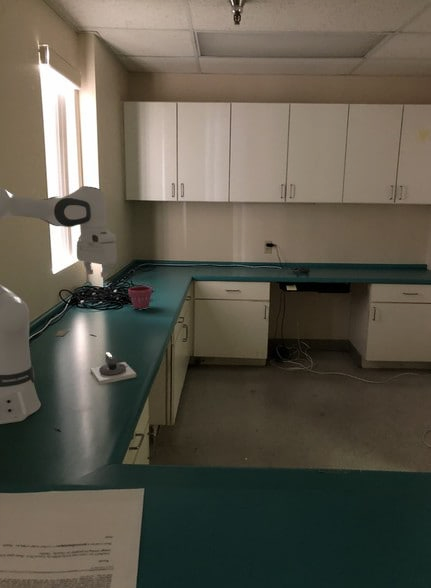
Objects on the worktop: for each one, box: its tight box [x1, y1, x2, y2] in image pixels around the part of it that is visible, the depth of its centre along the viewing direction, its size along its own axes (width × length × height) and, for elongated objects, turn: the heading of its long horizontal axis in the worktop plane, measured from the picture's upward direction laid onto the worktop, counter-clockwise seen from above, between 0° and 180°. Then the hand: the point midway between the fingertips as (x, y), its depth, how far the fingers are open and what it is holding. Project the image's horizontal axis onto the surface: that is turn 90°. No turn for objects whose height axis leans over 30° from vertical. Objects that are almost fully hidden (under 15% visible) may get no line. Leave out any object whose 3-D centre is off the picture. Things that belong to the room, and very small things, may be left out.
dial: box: [99, 351, 126, 375], centre depth 173 cm, size 12×10×5 cm
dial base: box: [90, 361, 137, 385], centre depth 173 cm, size 14×14×2 cm
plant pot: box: [127, 285, 153, 309], centre depth 273 cm, size 14×14×13 cm
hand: (97, 275), depth 154 cm, fingers open, 8 cm apart
